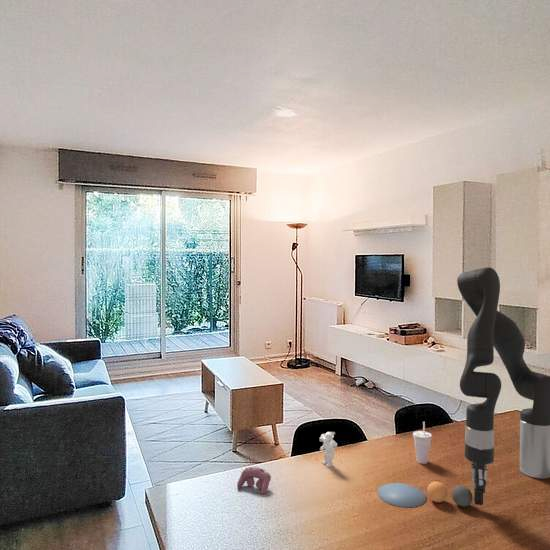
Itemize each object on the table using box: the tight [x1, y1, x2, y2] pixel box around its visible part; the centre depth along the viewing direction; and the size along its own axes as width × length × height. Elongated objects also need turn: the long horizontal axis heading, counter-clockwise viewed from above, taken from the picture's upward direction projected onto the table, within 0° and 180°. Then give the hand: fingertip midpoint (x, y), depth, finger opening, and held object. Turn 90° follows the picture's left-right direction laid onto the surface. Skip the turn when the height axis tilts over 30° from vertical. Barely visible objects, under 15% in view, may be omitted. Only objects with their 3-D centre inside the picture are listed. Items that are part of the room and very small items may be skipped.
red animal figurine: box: [236, 466, 272, 495], centre depth 143 cm, size 10×5×7 cm, turn 66°
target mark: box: [377, 482, 427, 508], centre depth 138 cm, size 14×14×1 cm
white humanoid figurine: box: [319, 431, 338, 468], centre depth 159 cm, size 9×4×12 cm, turn 24°
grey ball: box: [451, 485, 474, 508], centre depth 132 cm, size 6×6×6 cm
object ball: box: [426, 481, 448, 503], centre depth 134 cm, size 6×6×6 cm
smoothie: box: [412, 421, 433, 465], centre depth 161 cm, size 6×6×14 cm
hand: (478, 503), depth 130 cm, fingers closed
